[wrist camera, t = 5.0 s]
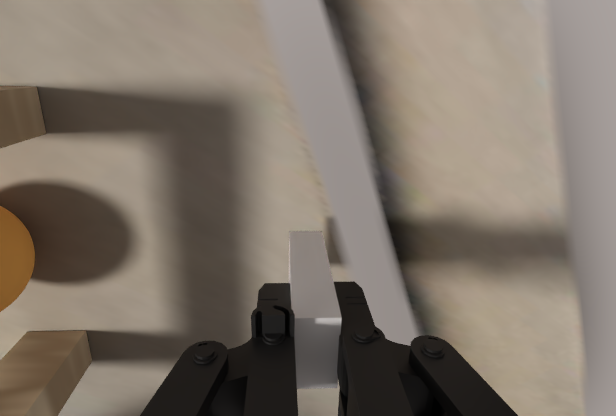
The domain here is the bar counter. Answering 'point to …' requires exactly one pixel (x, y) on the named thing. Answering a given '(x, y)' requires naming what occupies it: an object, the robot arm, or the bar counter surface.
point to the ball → (14, 257)
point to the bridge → (45, 344)
